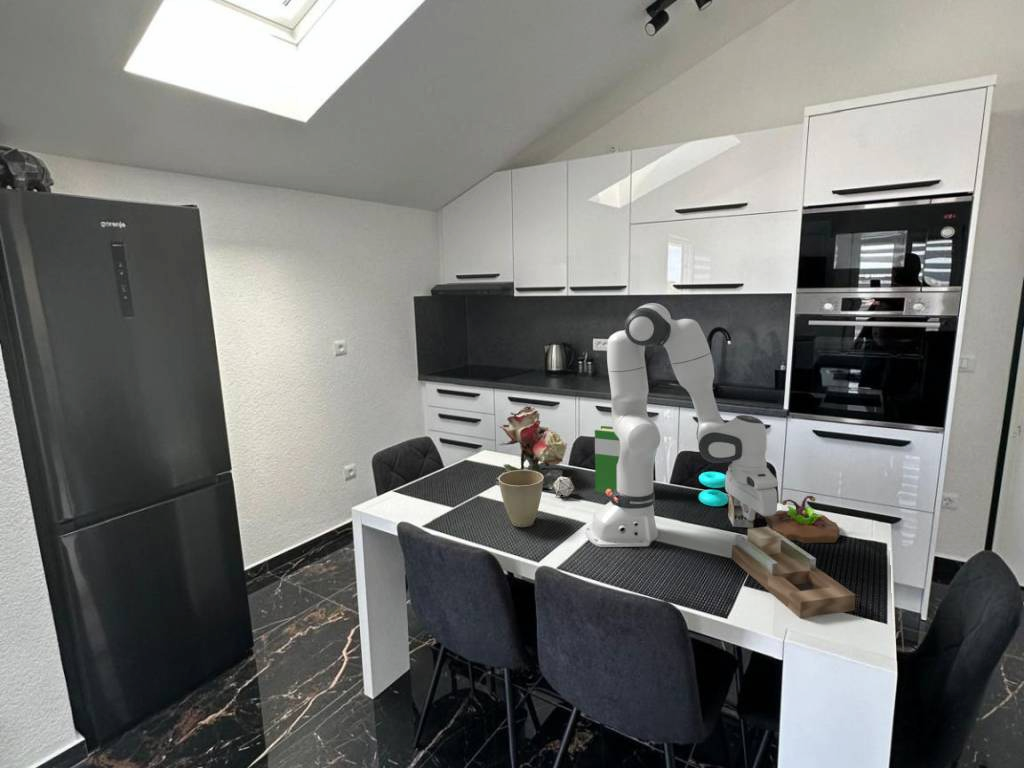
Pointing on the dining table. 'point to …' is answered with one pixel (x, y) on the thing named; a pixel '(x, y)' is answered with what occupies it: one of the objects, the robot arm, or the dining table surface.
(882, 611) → the dining table surface
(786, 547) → the lane walls
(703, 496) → the donuts
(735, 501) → the coffee box
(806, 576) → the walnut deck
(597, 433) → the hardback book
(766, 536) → the maple block
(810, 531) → the plant
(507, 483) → the plant pot
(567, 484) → the game die
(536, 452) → the rose bouquet
